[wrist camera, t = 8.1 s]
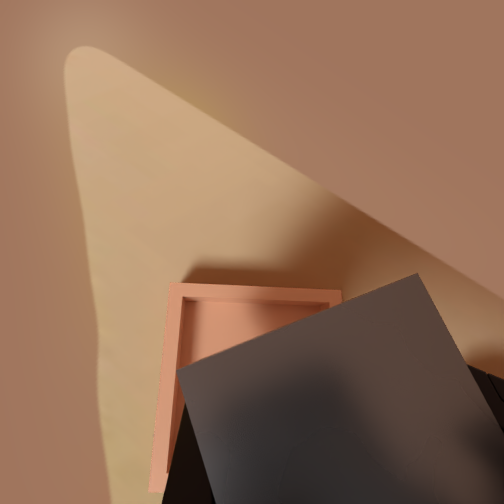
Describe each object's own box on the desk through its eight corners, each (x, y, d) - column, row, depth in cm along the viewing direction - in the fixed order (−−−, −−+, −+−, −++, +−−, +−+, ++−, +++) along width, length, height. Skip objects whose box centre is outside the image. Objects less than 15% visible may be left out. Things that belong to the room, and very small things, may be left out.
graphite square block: (324, 413, 15) (568, 554, 5) (236, 455, 14) (291, 752, 4) (287, 324, 16) (417, 273, 6) (203, 357, 15) (175, 370, 5)
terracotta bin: (336, 471, 19) (354, 488, 17) (157, 473, 18) (148, 492, 16) (327, 296, 22) (341, 289, 20) (175, 289, 21) (170, 282, 19)
